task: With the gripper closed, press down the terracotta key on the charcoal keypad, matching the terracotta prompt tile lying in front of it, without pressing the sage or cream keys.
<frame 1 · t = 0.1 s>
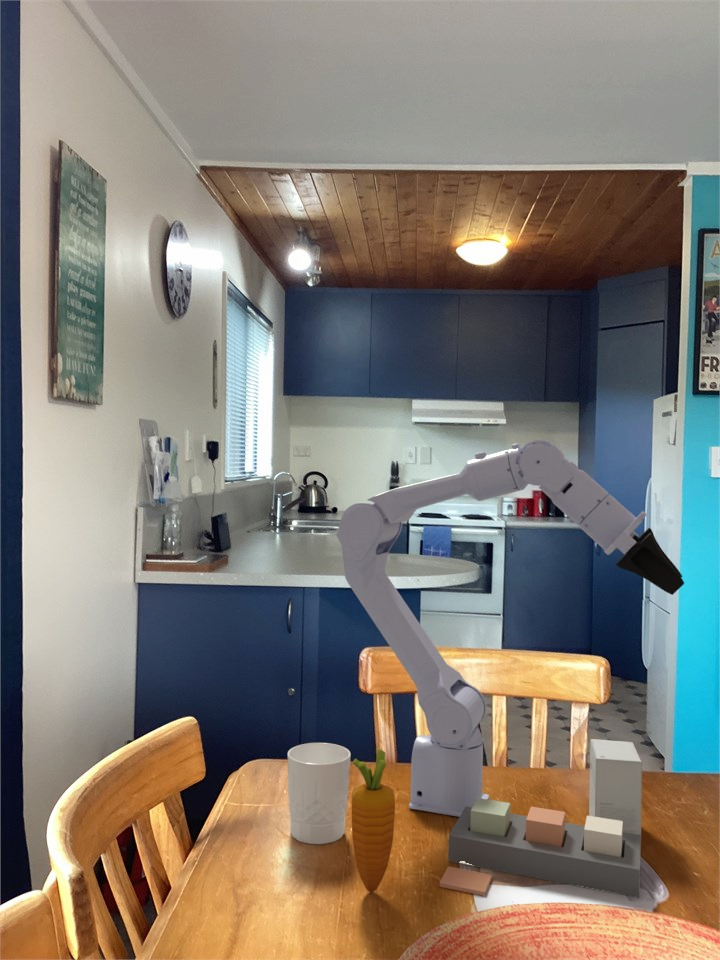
hand: (677, 585, 99), 32 cm above the table, tool tilted 50°, fingers open, 7 cm apart
carrot: (371, 894, 85), on the table
small box: (613, 833, 102), on the table
prompt tile: (466, 882, 88), on the table
key cream: (603, 840, 91), point 4 cm above the table, slide at 0.0 cm
key terracotta: (545, 830, 93), point 4 cm above the table, slide at 0.0 cm
keypad: (544, 860, 93), on the table
key sage: (490, 821, 96), point 4 cm above the table, slide at 0.0 cm
white cup: (317, 834, 100), on the table
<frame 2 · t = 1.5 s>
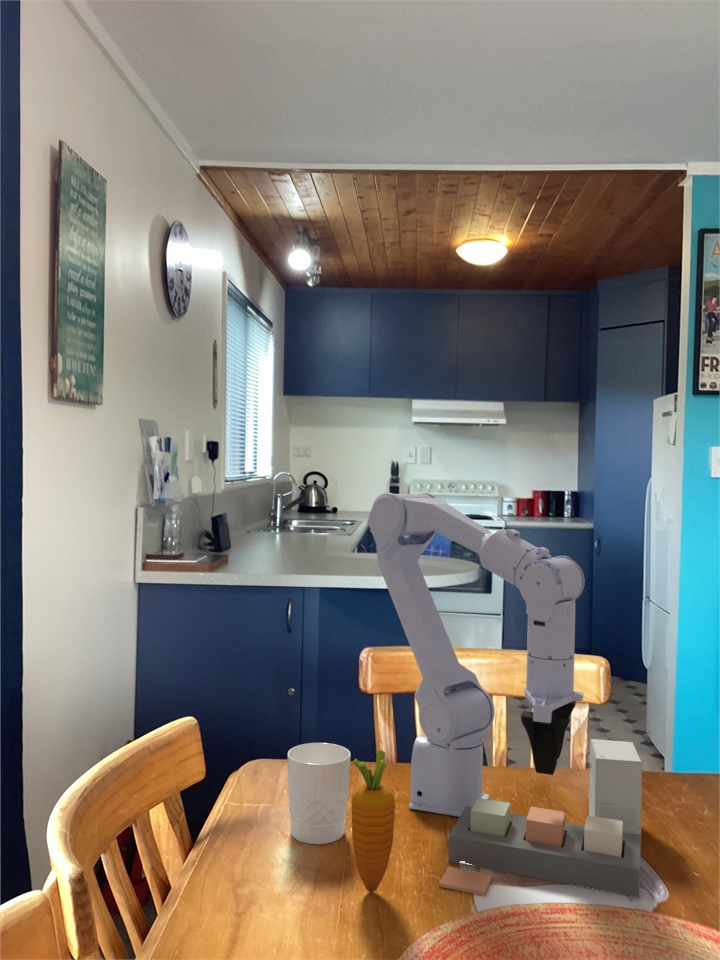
hand: (548, 764, 99), 9 cm above the table, tool pointing down, fingers open, 5 cm apart
nothing on the table moved.
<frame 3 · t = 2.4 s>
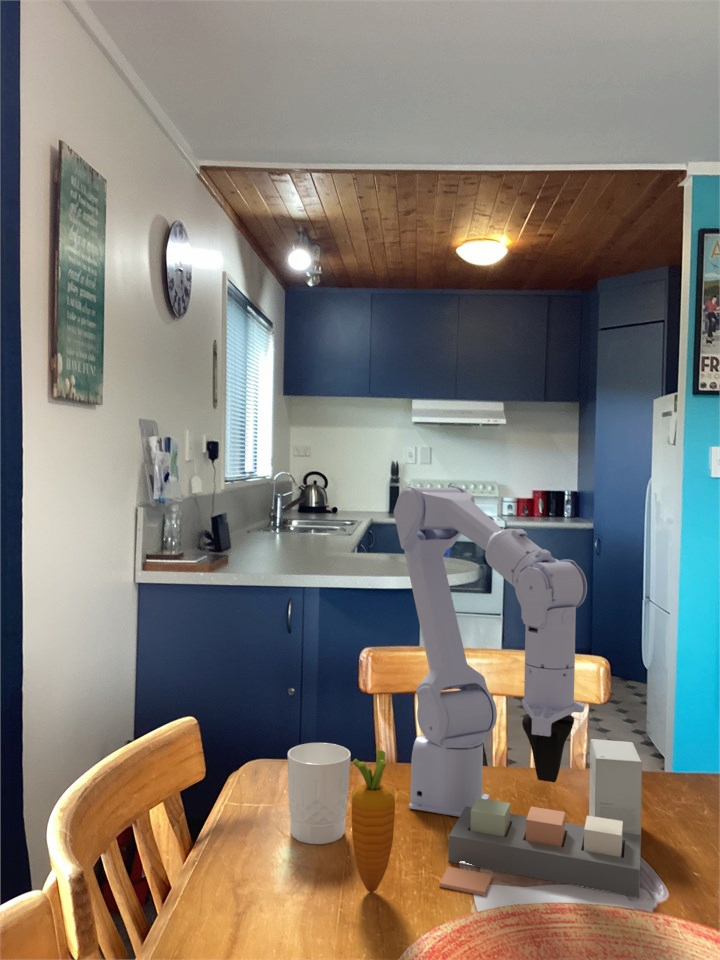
hand: (547, 779, 94), 9 cm above the table, tool pointing down, fingers closed
nothing on the table moved.
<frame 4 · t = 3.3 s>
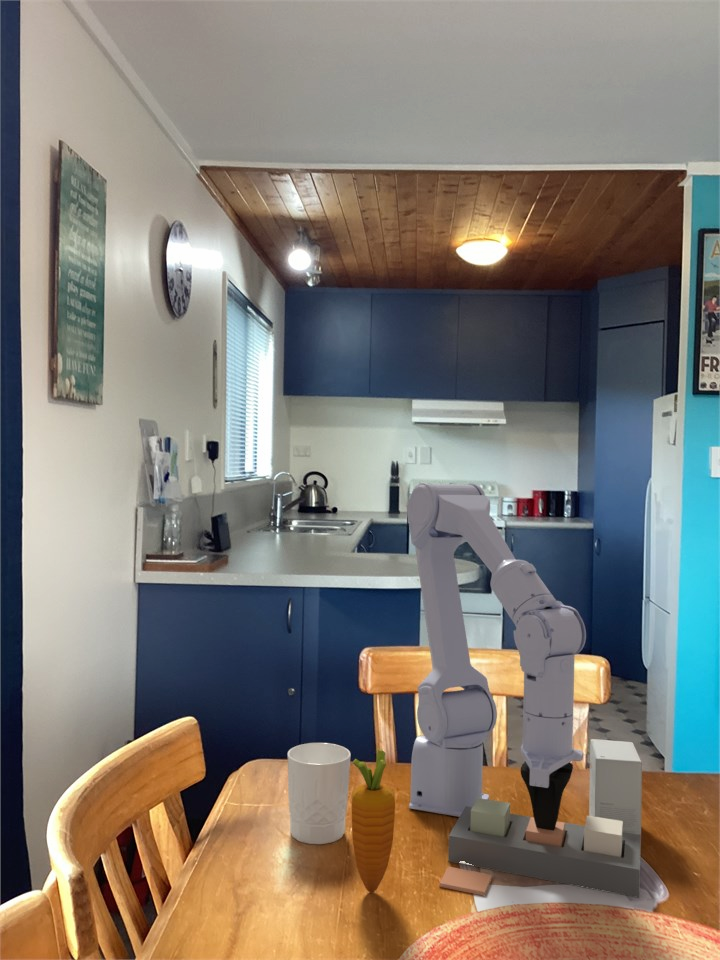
hand: (545, 826, 93), 4 cm above the table, tool pointing down, fingers closed, pressing on key terracotta
key terracotta: (545, 841, 93), point 2 cm above the table, slide at 1.3 cm, touching gripper
everything else where it was.
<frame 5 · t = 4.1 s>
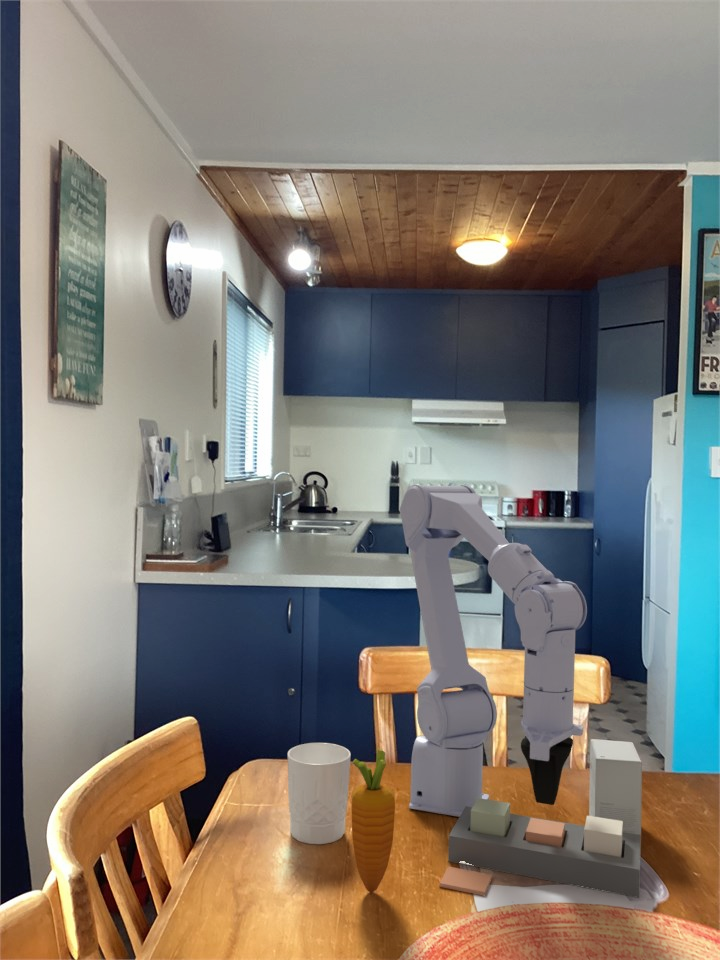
hand: (545, 801, 93), 7 cm above the table, tool pointing down, fingers closed
key terracotta: (545, 842, 93), point 2 cm above the table, slide at 1.4 cm
everything else where it was.
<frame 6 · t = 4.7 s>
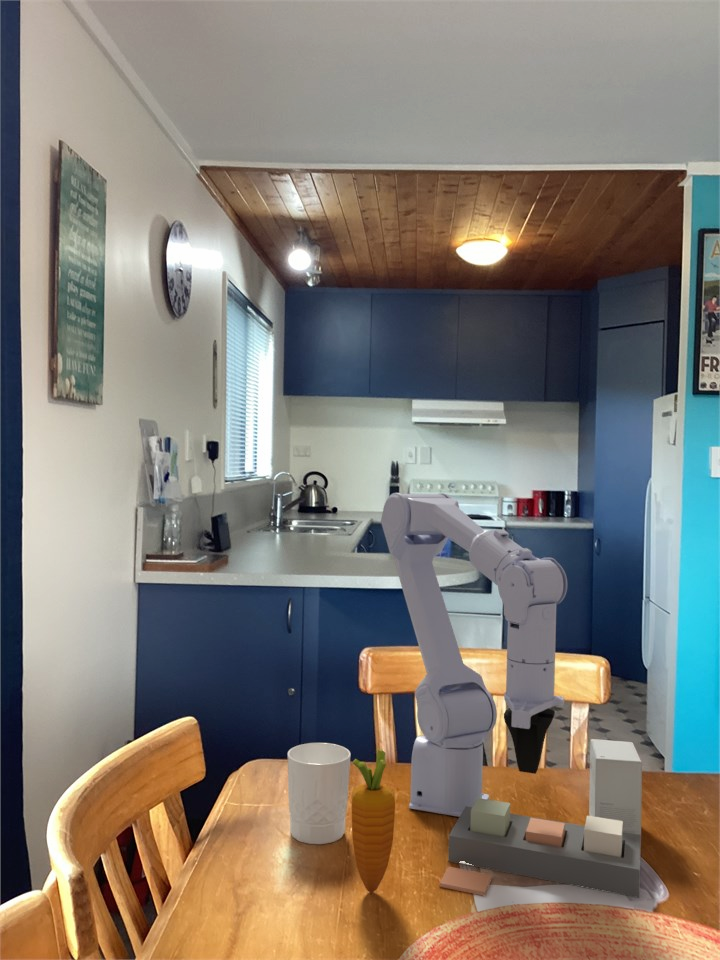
hand: (528, 770, 96), 9 cm above the table, tool pointing down, fingers closed
nothing on the table moved.
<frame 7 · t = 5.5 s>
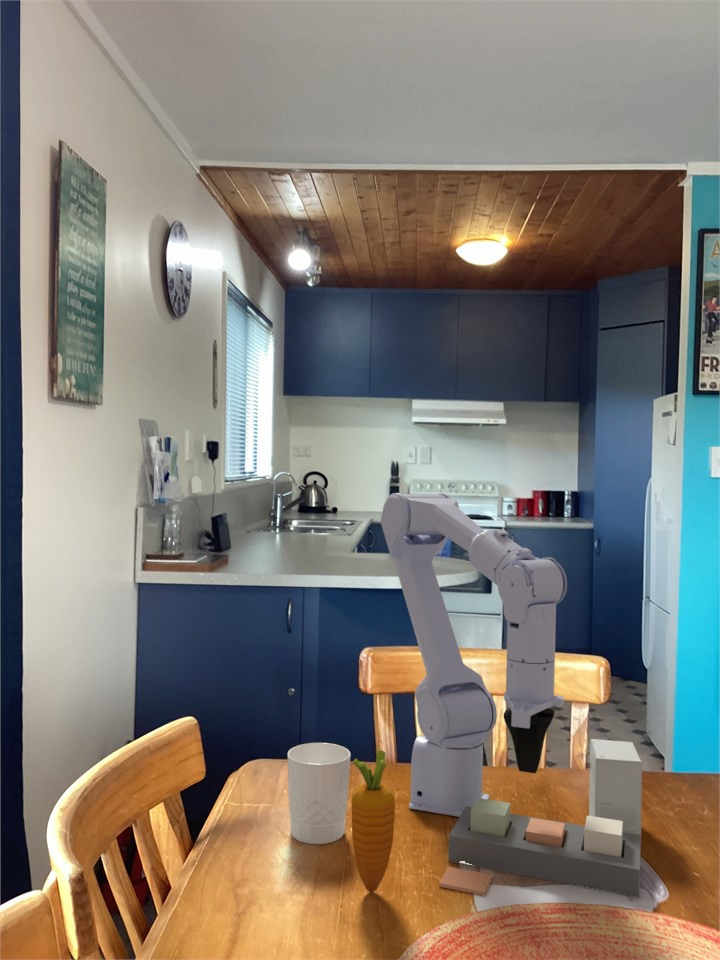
hand: (528, 770, 96), 9 cm above the table, tool pointing down, fingers closed
nothing on the table moved.
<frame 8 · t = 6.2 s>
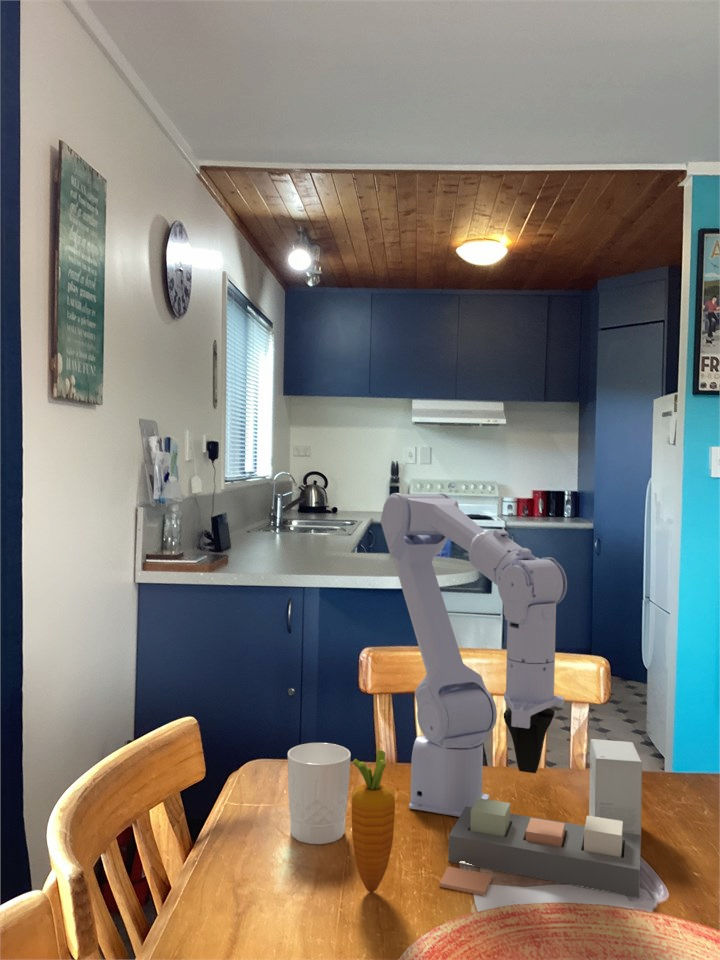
hand: (528, 770, 96), 9 cm above the table, tool pointing down, fingers closed
nothing on the table moved.
at the end: key terracotta slide at 1.4 cm; key sage slide at 0.0 cm; key cream slide at 0.0 cm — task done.
